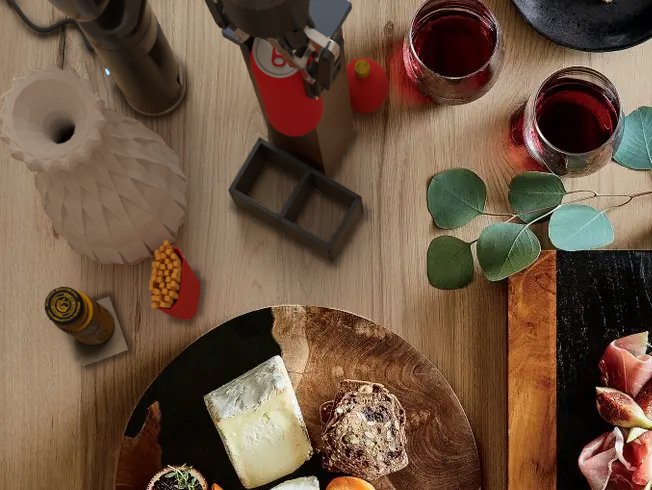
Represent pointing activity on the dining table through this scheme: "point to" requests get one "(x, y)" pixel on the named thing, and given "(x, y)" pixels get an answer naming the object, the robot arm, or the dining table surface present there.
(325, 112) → the post
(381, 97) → the christmas ornament
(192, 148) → the dining table surface
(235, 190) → the rack
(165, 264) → the french fries
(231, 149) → the dining table surface
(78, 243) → the vase
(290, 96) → the beverage can
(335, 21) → the gray square slab
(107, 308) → the condiment
